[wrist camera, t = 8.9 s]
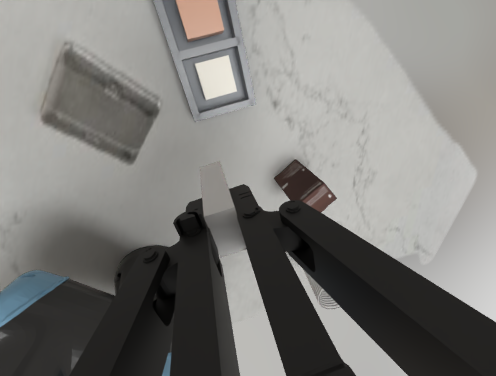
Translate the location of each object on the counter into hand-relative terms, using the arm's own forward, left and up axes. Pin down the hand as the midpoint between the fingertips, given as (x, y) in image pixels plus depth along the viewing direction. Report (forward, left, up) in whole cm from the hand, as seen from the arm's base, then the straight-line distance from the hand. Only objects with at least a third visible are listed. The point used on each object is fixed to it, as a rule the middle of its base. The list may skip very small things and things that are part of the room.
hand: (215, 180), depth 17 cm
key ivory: (+4, +6, -23) cm, 24 cm away
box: (+14, -15, -25) cm, 32 cm away
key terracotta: (+4, +14, -22) cm, 26 cm away
